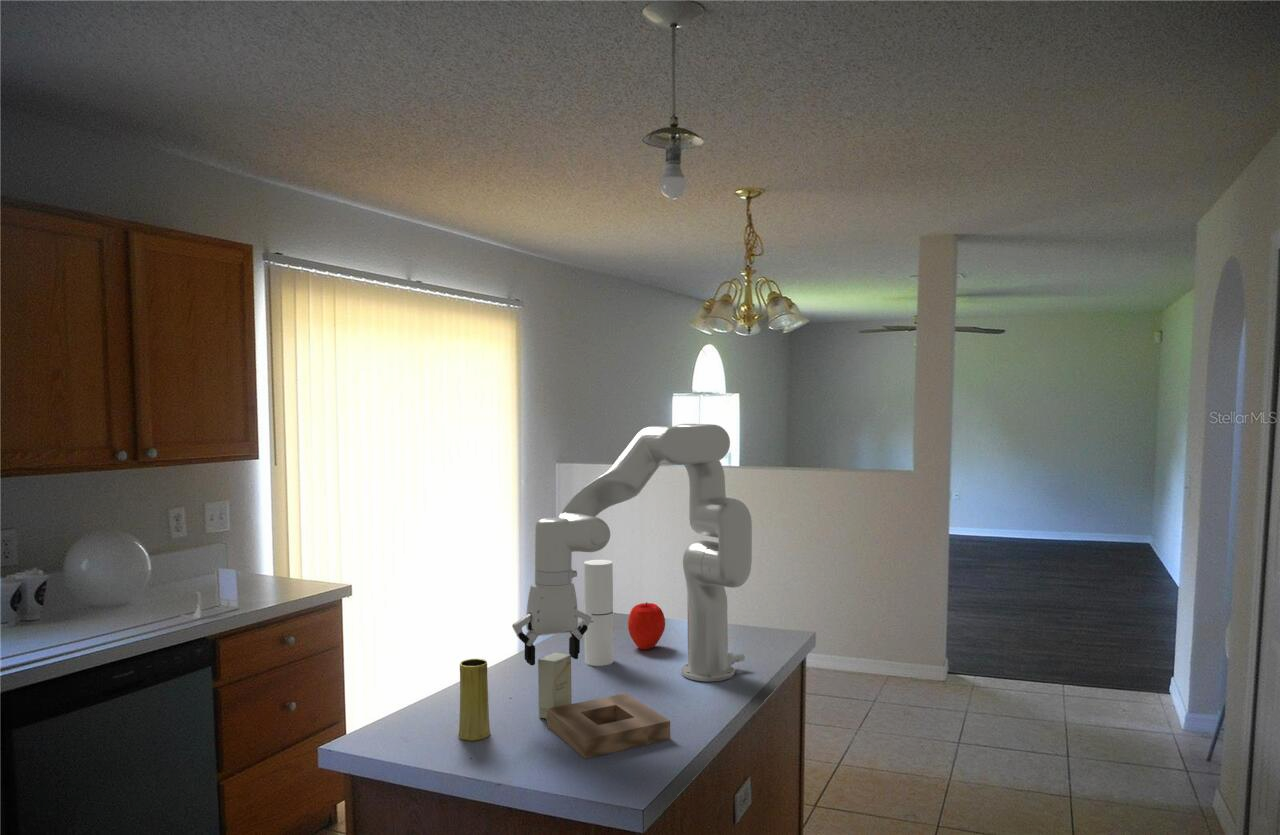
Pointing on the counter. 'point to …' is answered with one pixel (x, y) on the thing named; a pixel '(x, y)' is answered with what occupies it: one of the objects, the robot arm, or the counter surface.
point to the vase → (473, 700)
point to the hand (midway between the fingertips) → (552, 660)
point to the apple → (646, 625)
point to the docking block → (607, 725)
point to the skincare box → (554, 682)
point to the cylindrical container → (599, 612)
